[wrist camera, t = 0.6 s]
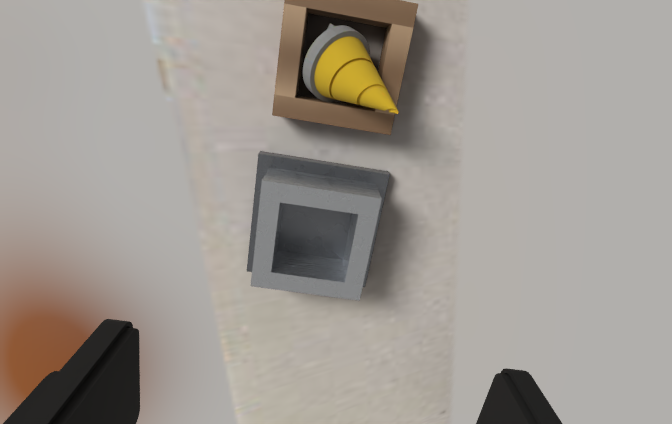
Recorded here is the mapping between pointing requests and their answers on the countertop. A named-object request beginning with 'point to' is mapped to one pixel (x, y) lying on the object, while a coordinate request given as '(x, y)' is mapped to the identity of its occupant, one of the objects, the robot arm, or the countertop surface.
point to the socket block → (398, 18)
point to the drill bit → (345, 70)
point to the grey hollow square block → (314, 225)
